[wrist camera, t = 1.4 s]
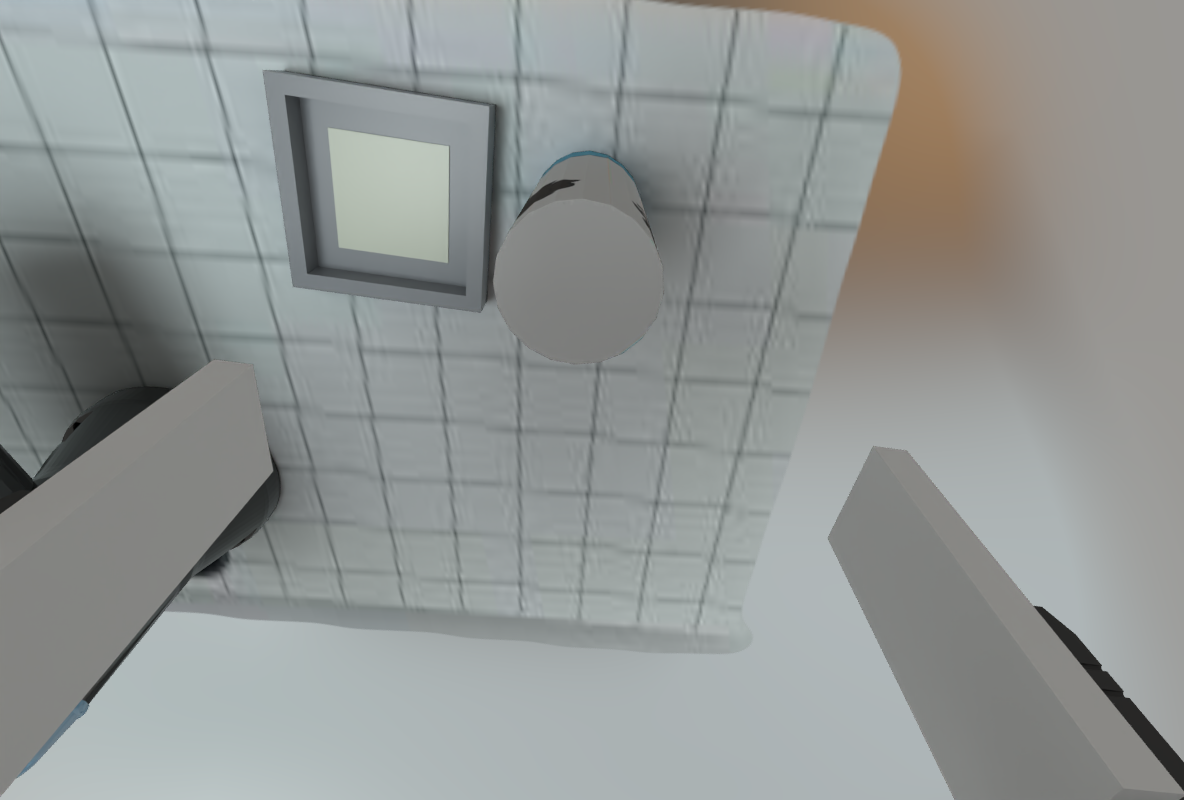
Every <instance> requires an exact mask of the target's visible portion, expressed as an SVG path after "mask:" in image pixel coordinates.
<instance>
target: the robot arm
mask: <svg viewBox="0 0 1184 800" xmlns="http://www.w3.org/2000/svg"><path fill="white" fill-rule="evenodd" d="M279 495H280V481H279V476H278V472H277V469H276V466H275V464H274V461H273V460H272V458H271V456H270V451H269V446H268V441H267V436H266V430H265V425H264V420H263V415H262V410H261V404H260V399H259V394H258V389H257V384H256V379H255V373H254V368H253V364H246V363H238V362H230V361H223V360H215V359H214V360H212V361H211V362H210V363H208V364H207V365H206V366H204V367H203V368H201V369H200V370H199V371H197V372H196V373H194V374H193V375H192V376H190V377H189V378H188V379H186V380H185V381H183V382H182V383H181V384H179V385H178V386H177V387H175V388H174V389H172V390H171V389H165V388H156V387H138V388H130V389H125V390H122V391H118V392H116V393H113V394H111V395H109V396H107V397H106V398H104V399H103V400H101V401H99V402H98V403H96V404H95V405H93V406H92V407H90V408H89V409H87V410H86V411H84V412H83V413H82V414H80V415H79V416H78V417H77V418H76V419H75V420H74V421H73V422H72V424H71V425H70V426H69V428H68V429H67V431H66V433H65V435H64V437H63V440H62V442H61V444H60V445H58V447H57V448H56V449H55V450H54V451H53V452H52V453H51V455H50V456H49V457H48V459H47V460H46V461H45V463H44V464H43V466H42V467H41V468H40V470H39V471H38V473H37V474H36V476H35V477H34V479H32V478H31V477H30V476H29V475H28V474H27V473H26V472H25V471H24V470H23V469H22V467H21V466H20V465H19V464H18V463H17V462H16V461H15V460H14V459H13V458H12V456H11V455H10V454H9V453H8V452H7V451H6V450H5V449H4V448H3V447H2V446H1V444H0V797H1V795H2V794H3V793H4V792H5V791H6V789H7V788H8V787H9V786H10V785H11V784H12V782H13V781H14V780H15V779H16V778H18V777H19V776H21V775H22V774H24V773H25V772H26V771H27V770H29V769H30V768H31V767H32V766H33V765H34V764H35V763H36V762H37V761H38V760H39V759H40V758H41V757H42V756H43V755H44V754H45V753H46V752H47V751H48V749H49V748H50V747H51V746H52V745H53V744H54V743H55V742H56V741H57V740H58V739H59V737H61V735H62V734H63V733H64V732H65V731H66V730H67V729H68V728H69V727H70V726H71V725H72V724H73V723H74V722H75V720H76V719H78V718H80V717H81V716H83V715H84V714H85V712H86V711H87V709H88V706H89V705H88V704H89V703H90V702H91V700H92V699H93V698H94V697H95V695H96V694H97V693H98V692H99V690H100V689H101V688H102V687H103V686H104V684H105V683H106V682H107V681H108V679H109V678H110V677H111V676H112V675H113V673H114V672H115V670H117V668H118V667H119V666H120V665H121V664H122V662H123V661H124V660H125V659H126V657H127V656H128V655H129V654H130V652H131V651H132V650H133V649H134V647H135V646H136V645H137V644H138V642H139V641H140V640H141V639H142V638H143V636H144V635H145V634H146V633H147V631H148V630H149V629H150V628H151V627H152V625H153V624H154V623H155V622H156V620H157V619H158V618H159V617H160V615H161V614H162V613H163V612H164V611H165V609H166V608H167V607H168V606H169V604H170V603H171V602H172V601H173V599H174V598H175V597H176V596H177V594H178V593H179V592H180V591H181V590H182V588H183V587H184V586H185V585H186V584H187V582H188V581H189V580H190V579H191V578H192V577H193V576H194V575H195V574H197V573H198V572H200V571H201V570H202V569H204V568H205V567H207V566H208V565H209V564H211V563H212V562H213V561H215V560H216V559H218V558H219V557H220V556H222V555H223V554H225V553H226V552H227V551H229V550H231V549H233V548H235V547H238V546H239V545H241V544H243V543H244V542H246V541H247V540H249V539H250V538H251V537H252V536H253V535H254V534H256V533H257V532H258V530H259V529H260V528H261V527H262V525H263V524H264V523H265V522H266V520H267V519H268V518H269V516H270V515H271V514H272V512H273V511H274V509H275V507H276V505H277V503H278V499H279ZM828 540H829V542H830V544H831V546H832V548H833V551H834V552H835V555H836V557H837V559H838V561H839V563H840V565H841V567H842V569H843V571H844V573H845V575H846V577H847V579H848V581H849V583H850V586H851V587H852V589H853V592H854V594H855V596H856V598H857V600H858V602H859V604H860V606H861V608H862V610H863V612H864V614H865V616H866V618H867V620H868V623H869V625H870V627H871V628H872V631H873V633H874V635H875V637H876V639H877V641H878V643H879V645H880V647H881V649H882V651H883V653H884V655H885V658H886V660H887V662H888V664H889V665H890V667H891V670H892V672H893V674H894V676H895V678H896V680H897V682H898V684H899V686H900V688H901V690H902V692H903V695H904V697H905V699H906V701H907V703H908V705H909V707H910V709H911V711H912V713H913V715H914V717H915V719H916V721H917V723H918V725H919V727H920V730H921V732H922V734H923V736H924V738H925V740H926V742H927V744H928V746H929V748H930V750H931V752H932V754H933V756H934V758H935V760H936V762H937V765H938V766H939V769H940V771H941V773H942V775H943V777H944V779H945V781H946V783H947V785H948V787H949V789H950V791H951V793H952V795H953V797H954V800H1184V762H1183V761H1182V760H1181V758H1180V757H1179V756H1178V755H1177V754H1176V753H1175V751H1174V750H1173V749H1172V748H1171V747H1170V746H1169V744H1168V743H1167V742H1166V741H1165V740H1164V739H1163V737H1162V736H1161V735H1160V734H1159V732H1158V731H1157V730H1156V729H1155V728H1154V727H1153V725H1152V724H1151V723H1150V722H1149V721H1148V720H1147V718H1146V717H1145V716H1144V715H1143V714H1142V712H1141V711H1140V710H1139V709H1138V708H1137V706H1136V705H1135V704H1134V703H1133V702H1132V701H1131V699H1130V698H1125V697H1124V695H1123V690H1122V689H1121V688H1120V686H1119V685H1118V684H1117V683H1116V682H1115V681H1114V680H1113V678H1112V677H1111V676H1110V675H1109V674H1108V672H1106V671H1102V669H1101V666H1102V665H1101V664H1100V663H1099V662H1098V660H1096V658H1095V657H1094V656H1093V655H1092V654H1091V652H1090V651H1089V650H1088V649H1087V648H1086V646H1085V645H1084V644H1083V643H1082V642H1081V641H1080V639H1079V638H1078V637H1077V636H1076V634H1074V633H1073V632H1072V631H1071V630H1069V629H1068V628H1067V627H1066V626H1065V625H1063V624H1062V623H1061V622H1060V621H1058V620H1057V619H1056V618H1055V617H1054V616H1052V615H1051V614H1050V613H1049V612H1048V611H1046V610H1045V609H1044V608H1043V607H1038V606H1033V605H1032V604H1031V603H1030V601H1029V600H1028V599H1027V598H1026V597H1025V596H1024V594H1023V593H1022V592H1021V590H1020V589H1019V588H1018V587H1017V585H1016V584H1015V583H1014V582H1013V581H1012V579H1011V578H1010V577H1009V576H1008V574H1007V573H1006V572H1005V571H1004V569H1003V568H1002V567H1001V566H1000V565H999V563H998V562H997V561H996V560H995V559H994V557H993V556H992V555H991V553H990V552H989V551H988V550H987V548H986V547H985V546H984V545H983V544H982V543H981V541H980V540H979V539H978V537H977V536H976V535H975V534H974V533H973V531H972V530H971V529H970V528H969V526H968V525H967V524H966V523H965V521H964V520H963V519H962V518H961V517H960V515H959V514H958V513H957V512H956V510H955V509H954V508H953V507H952V505H951V504H950V503H949V502H948V501H947V499H946V498H945V497H944V496H943V494H942V493H941V492H940V491H939V489H938V488H937V487H936V486H935V485H934V483H933V482H932V481H931V480H930V479H929V477H928V476H927V475H926V473H925V472H924V471H923V470H922V469H921V467H920V466H919V465H918V464H917V462H916V461H915V460H914V459H913V457H912V456H911V455H910V454H909V453H908V451H906V450H898V449H890V448H883V447H876V446H873V448H872V449H871V452H870V454H869V456H868V458H867V460H866V462H865V464H864V466H863V468H862V470H861V472H860V474H859V476H858V478H857V480H856V482H855V484H854V486H853V488H852V490H851V492H850V494H849V496H848V498H847V500H846V502H845V504H844V506H843V508H842V510H841V512H840V514H839V516H838V518H837V520H836V522H835V524H834V526H833V528H832V530H831V532H830V534H829V536H828Z"/></svg>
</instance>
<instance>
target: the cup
mask: <svg viewBox="0 0 1184 800" xmlns="http://www.w3.org/2000/svg"><path fill="white" fill-rule="evenodd" d="M493 286H494V291H495V296H496V301H497V306H498V309H499V311H500V313H501V315H502V316H503V318H504V320H505V322H506V324H507V325H508V327H509V329H510V331H511V332H512V333H513V334H514V335H516V336H517V337H518V338H519V339H520V340H521V341H522V342H523V343H524V344H525V345H526V346H527V347H528V348H529V349H531V350H533V351H535V352H537V353H539V354H541V355H543V356H545V357H547V358H549V359H551V360H556V361H560V362H565V363H570V364H586V363H598V362H602V361H605V360H607V359H610V358H612V357H615V356H618V355H620V354H623V353H624V352H625V351H627V350H628V349H629V348H630V347H632V346H633V345H634V344H636V343H637V342H638V341H639V340H641V339H642V338H643V336H644V335H645V334H646V332H647V331H648V329H649V328H650V326H651V325H652V323H653V322H654V321H655V319H656V318H657V314H658V311H659V307H660V304H661V301H662V297H663V294H664V287H663V266H662V263H661V260H660V257H659V254H658V251H657V248H656V244H655V241H654V238H653V235H652V232H651V229H650V226H649V223H648V220H647V217H646V213H645V210H644V207H643V204H642V201H641V198H640V195H639V192H638V190H637V187H636V184H635V182H634V179H633V177H632V176H631V175H630V174H629V172H628V171H627V170H626V169H625V167H624V166H623V165H622V164H621V163H619V162H617V161H616V160H614V159H613V158H611V157H610V156H608V155H605V154H601V153H597V152H593V151H585V152H575V153H571V154H569V155H567V156H565V157H563V158H561V159H559V160H557V161H556V162H555V163H554V164H553V165H552V166H551V167H550V168H549V169H548V170H547V171H546V172H545V173H544V174H543V176H542V178H541V179H540V181H539V183H538V184H537V186H536V188H535V189H534V191H533V193H532V194H531V196H530V198H529V199H528V201H527V203H526V204H525V206H524V208H523V209H522V211H521V213H520V214H519V216H518V218H517V219H516V221H515V223H514V224H513V226H512V227H511V229H510V231H509V232H508V234H507V236H506V238H505V240H504V242H503V244H502V246H501V248H500V250H499V252H498V254H497V256H496V263H495V271H494V279H493Z"/></svg>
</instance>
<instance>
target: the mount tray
mask: <svg viewBox="0 0 1184 800" xmlns="http://www.w3.org/2000/svg"><path fill="white" fill-rule="evenodd" d="M263 76H264V84H265V91H266V98H267V105H268V112H269V119H270V126H271V133H272V141H273V148H274V155H275V162H276V169H277V176H278V183H279V190H280V198H281V205H282V212H283V219H284V226H285V233H286V240H287V247H288V255H289V262H290V269H291V276H292V283H293V287H298V288H305V289H312V290H320V291H327V292H334V293H341V294H349V295H356V296H363V297H370V298H378V299H385V300H392V301H399V302H407V303H414V304H421V305H428V306H436V307H443V308H450V309H457V310H465V311H472V312H479V313H481V311H482V309H483V307H484V306H485V304H486V302H487V288H488V266H489V245H490V224H491V202H492V181H493V159H494V138H495V116H496V105H494V104H488V103H482V102H476V101H469V100H463V99H457V98H451V97H444V96H438V95H432V94H426V93H420V92H413V91H407V90H401V89H395V88H388V87H382V86H376V85H370V84H363V83H357V82H351V81H345V80H338V79H332V78H326V77H320V76H313V75H307V74H301V73H295V72H288V71H275V70H263Z"/></svg>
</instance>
